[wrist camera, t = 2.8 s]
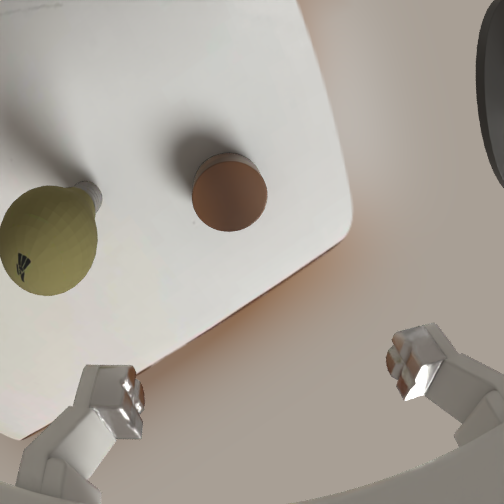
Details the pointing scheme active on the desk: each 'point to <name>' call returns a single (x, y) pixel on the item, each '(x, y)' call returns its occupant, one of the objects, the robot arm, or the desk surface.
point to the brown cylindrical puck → (229, 192)
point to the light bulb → (50, 237)
